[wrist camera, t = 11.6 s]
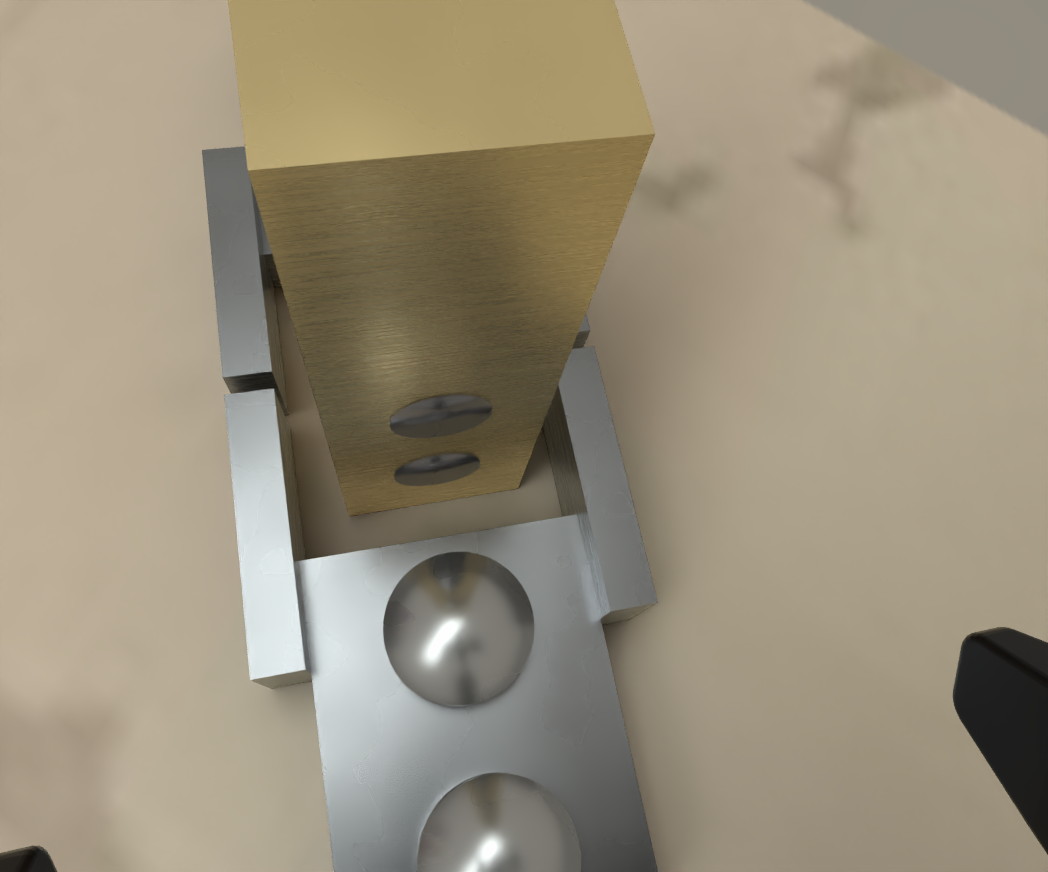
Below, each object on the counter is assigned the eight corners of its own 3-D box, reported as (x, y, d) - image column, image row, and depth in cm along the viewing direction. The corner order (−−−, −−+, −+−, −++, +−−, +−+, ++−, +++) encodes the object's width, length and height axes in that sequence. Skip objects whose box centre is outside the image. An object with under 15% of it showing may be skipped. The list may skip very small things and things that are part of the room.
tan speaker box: (518, 490, 20) (655, 138, 9) (349, 518, 19) (248, 174, 8) (479, 303, 22) (550, -208, 10) (322, 323, 21) (205, -202, 9)
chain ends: (693, 892, 18) (735, 914, 15) (302, 993, 16) (282, 1034, 14) (488, 25, 25) (495, -49, 23) (208, 42, 24) (184, -35, 21)
